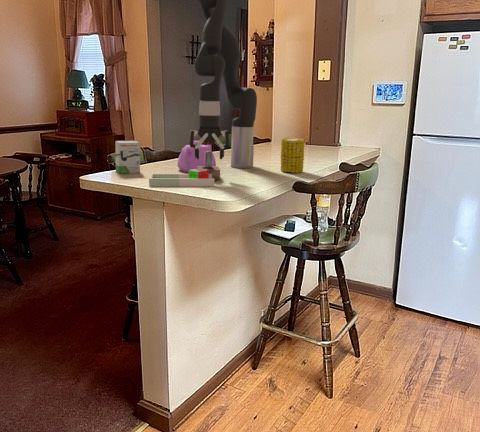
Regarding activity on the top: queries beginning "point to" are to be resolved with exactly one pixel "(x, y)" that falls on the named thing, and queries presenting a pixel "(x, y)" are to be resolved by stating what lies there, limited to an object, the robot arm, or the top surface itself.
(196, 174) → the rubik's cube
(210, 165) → the pin gauge
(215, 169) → the bore block
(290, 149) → the food
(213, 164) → the purple bag
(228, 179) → the top surface
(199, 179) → the guide rails
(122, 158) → the ink box
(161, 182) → the tray
